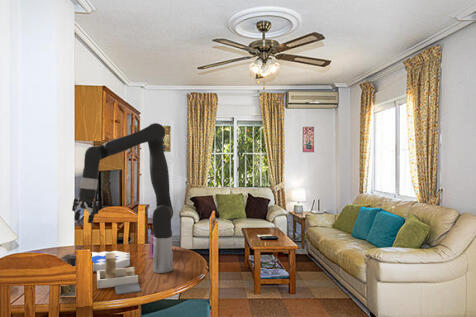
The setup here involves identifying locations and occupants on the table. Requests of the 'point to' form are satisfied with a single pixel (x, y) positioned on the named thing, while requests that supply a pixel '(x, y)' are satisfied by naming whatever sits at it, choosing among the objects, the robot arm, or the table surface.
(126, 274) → the offcut upper
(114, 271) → the tan upright block
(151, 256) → the gum box
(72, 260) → the coffee box
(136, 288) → the mat
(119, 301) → the table surface
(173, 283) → the table surface
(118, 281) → the u-shaped fence
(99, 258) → the pixel art tile
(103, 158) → the robot arm
